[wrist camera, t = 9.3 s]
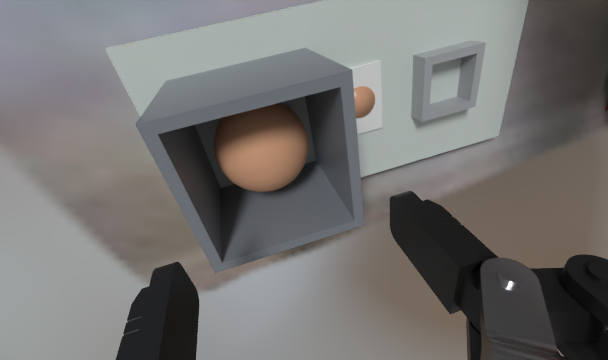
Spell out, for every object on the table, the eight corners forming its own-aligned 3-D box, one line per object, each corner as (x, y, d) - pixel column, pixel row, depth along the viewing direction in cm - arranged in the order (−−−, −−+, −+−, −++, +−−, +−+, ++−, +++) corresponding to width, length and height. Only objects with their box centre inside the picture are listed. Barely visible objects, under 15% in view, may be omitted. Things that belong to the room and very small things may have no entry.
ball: (239, 69, 19) (247, 93, 14) (311, 114, 21) (339, 147, 17) (199, 144, 21) (193, 188, 16) (270, 176, 23) (284, 222, 18)
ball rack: (198, 219, 25) (190, 310, 17) (110, 46, 17) (27, 77, 10) (490, 132, 28) (588, 177, 21) (526, -45, 21) (701, -74, 13)
